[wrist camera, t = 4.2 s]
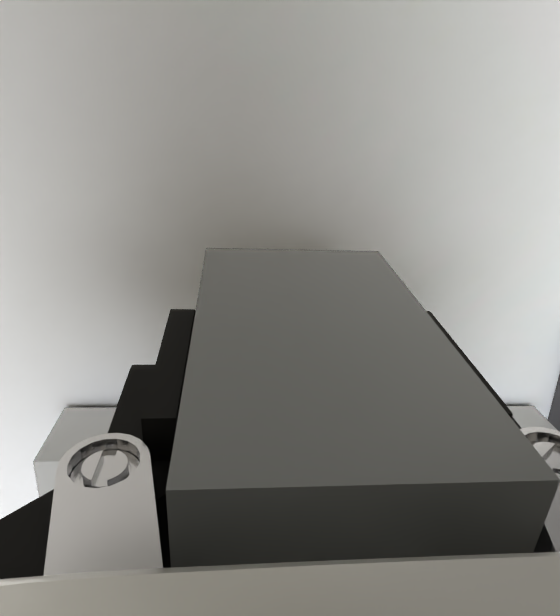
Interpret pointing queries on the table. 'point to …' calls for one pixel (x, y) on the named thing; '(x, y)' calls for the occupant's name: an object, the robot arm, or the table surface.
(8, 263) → the table surface
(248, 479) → the block
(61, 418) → the outlet plate
